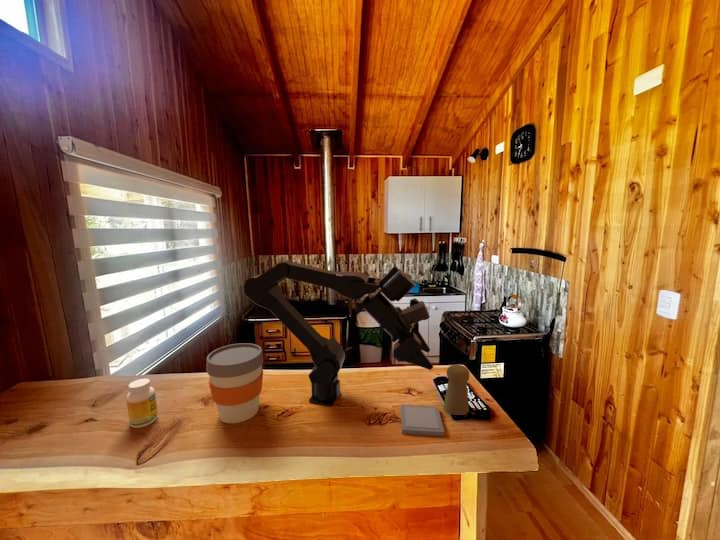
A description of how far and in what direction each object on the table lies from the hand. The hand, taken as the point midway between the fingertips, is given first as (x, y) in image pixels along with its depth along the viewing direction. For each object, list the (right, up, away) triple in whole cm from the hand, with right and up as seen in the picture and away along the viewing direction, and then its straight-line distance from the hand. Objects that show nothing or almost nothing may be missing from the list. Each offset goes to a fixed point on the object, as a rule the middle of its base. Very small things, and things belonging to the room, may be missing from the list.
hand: (430, 359), depth 72 cm
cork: (+7, -13, +1) cm, 14 cm away
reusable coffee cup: (-47, -13, 0) cm, 48 cm away
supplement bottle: (-67, -14, -3) cm, 69 cm away
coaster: (-3, -13, -4) cm, 14 cm away
